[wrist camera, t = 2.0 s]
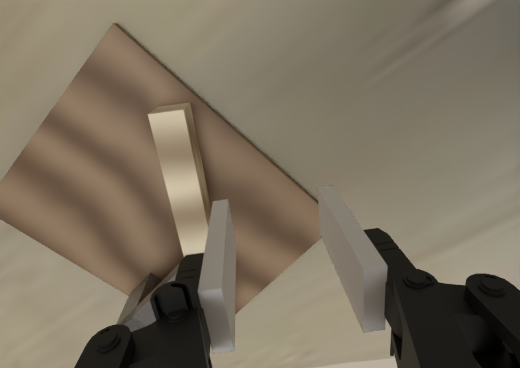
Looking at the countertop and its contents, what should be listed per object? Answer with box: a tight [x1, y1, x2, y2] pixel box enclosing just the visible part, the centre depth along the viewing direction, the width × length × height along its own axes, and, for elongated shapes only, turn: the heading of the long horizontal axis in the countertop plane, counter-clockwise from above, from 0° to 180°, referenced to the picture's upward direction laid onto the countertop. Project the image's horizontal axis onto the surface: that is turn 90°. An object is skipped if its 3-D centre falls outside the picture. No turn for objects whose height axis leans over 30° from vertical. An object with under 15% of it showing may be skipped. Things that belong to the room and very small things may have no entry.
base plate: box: [0, 23, 321, 314], centre depth 36 cm, size 24×30×1 cm
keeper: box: [117, 264, 179, 332], centre depth 36 cm, size 12×6×7 cm, turn 137°
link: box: [148, 102, 211, 257], centre depth 34 cm, size 24×5×4 cm, turn 7°
